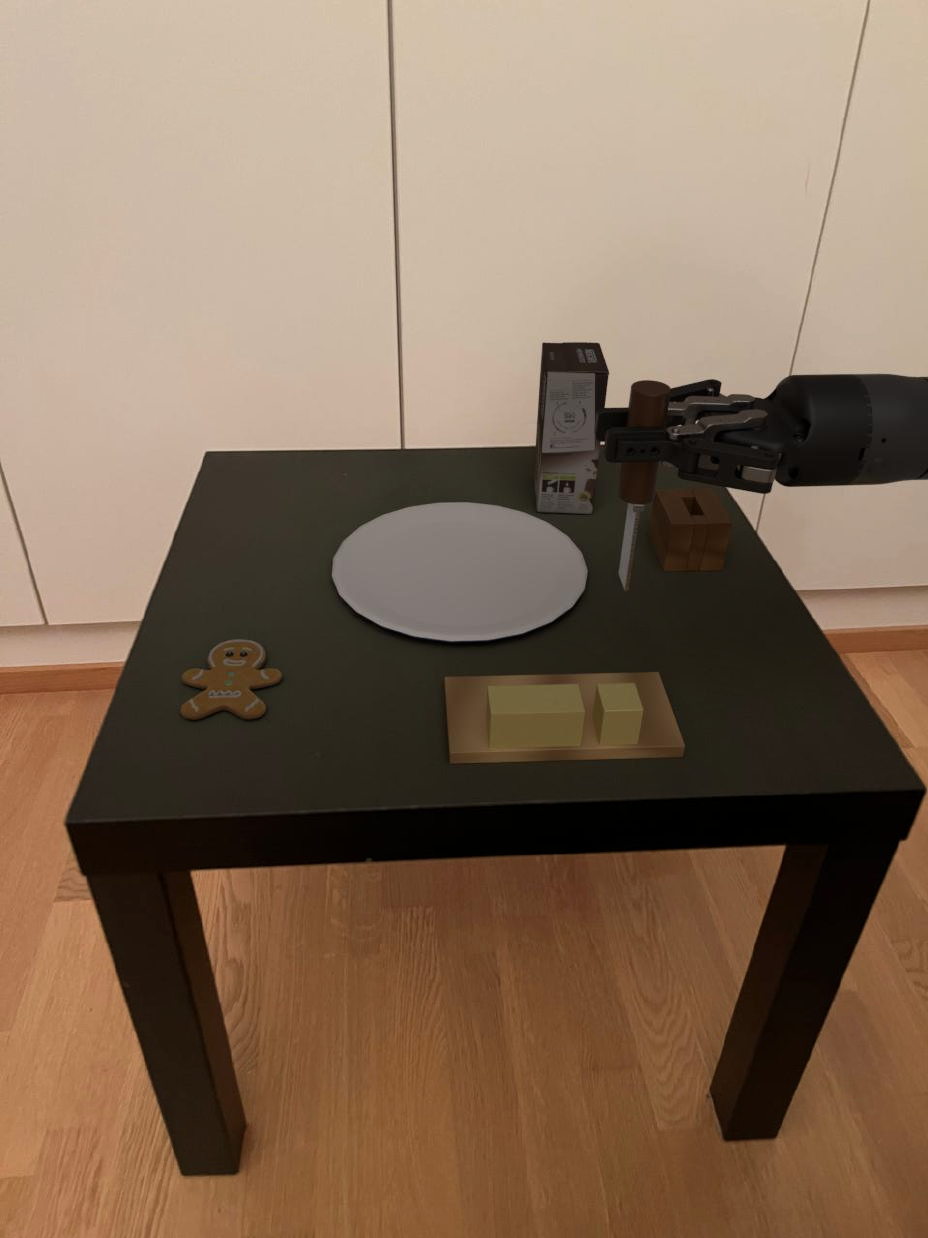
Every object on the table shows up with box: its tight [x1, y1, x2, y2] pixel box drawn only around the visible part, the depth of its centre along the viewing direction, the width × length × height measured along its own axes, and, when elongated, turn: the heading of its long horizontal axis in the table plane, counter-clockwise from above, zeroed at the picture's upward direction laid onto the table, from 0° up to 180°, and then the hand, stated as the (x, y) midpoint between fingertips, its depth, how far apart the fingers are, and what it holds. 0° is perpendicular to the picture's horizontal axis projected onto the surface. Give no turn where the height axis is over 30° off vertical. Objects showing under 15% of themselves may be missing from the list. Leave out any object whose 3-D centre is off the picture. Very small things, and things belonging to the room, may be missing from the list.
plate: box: [331, 501, 589, 644], centre depth 93 cm, size 25×25×1 cm
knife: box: [616, 379, 672, 592], centre depth 66 cm, size 3×3×15 cm
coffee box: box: [533, 341, 610, 515], centre depth 102 cm, size 9×6×16 cm
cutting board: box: [443, 671, 686, 765], centre depth 76 cm, size 18×9×1 cm, turn 93°
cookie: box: [179, 639, 283, 721], centre depth 79 cm, size 8×1×10 cm
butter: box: [486, 684, 585, 748], centre depth 72 cm, size 7×3×4 cm, turn 94°
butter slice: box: [592, 683, 644, 745], centre depth 72 cm, size 3×3×4 cm
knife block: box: [647, 488, 733, 572], centre depth 96 cm, size 6×7×6 cm
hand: (602, 435), depth 64 cm, fingers closed on knife, 2 cm apart
